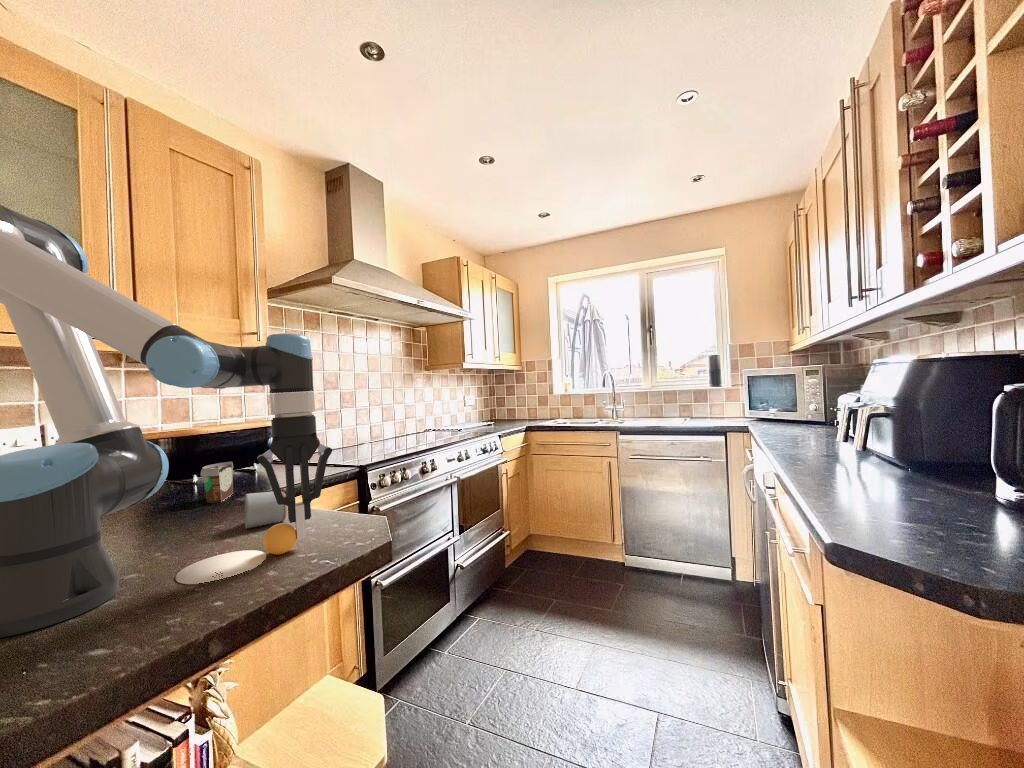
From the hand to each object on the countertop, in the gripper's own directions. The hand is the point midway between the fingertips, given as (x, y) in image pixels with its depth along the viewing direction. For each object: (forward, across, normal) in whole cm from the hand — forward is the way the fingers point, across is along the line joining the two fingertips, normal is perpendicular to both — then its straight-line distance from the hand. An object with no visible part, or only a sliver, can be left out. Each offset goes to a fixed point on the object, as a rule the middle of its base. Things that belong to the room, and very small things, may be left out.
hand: (300, 537), depth 79 cm
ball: (-1, +3, 0) cm, 3 cm away
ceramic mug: (+2, +5, -24) cm, 25 cm away
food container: (+2, +16, -61) cm, 63 cm away
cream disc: (+2, +12, 0) cm, 12 cm away
